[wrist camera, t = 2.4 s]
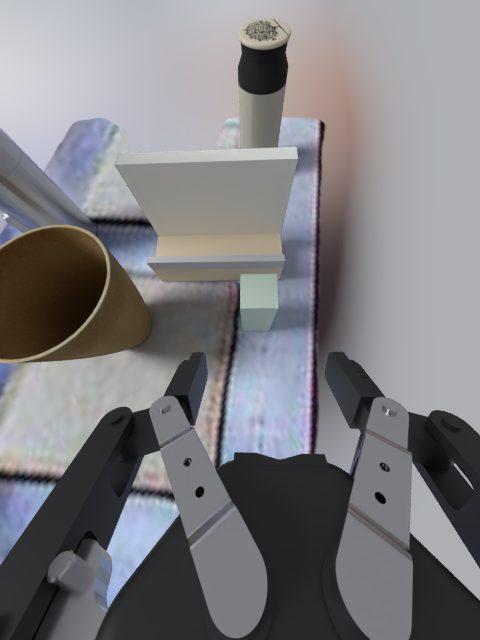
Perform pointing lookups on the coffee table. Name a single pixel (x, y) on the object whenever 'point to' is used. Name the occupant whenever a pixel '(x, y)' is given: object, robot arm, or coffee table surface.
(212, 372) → the coffee table surface
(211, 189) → the white display stand
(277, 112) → the travel mug
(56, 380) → the coffee table surface
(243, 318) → the pale green block
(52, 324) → the plant pot
